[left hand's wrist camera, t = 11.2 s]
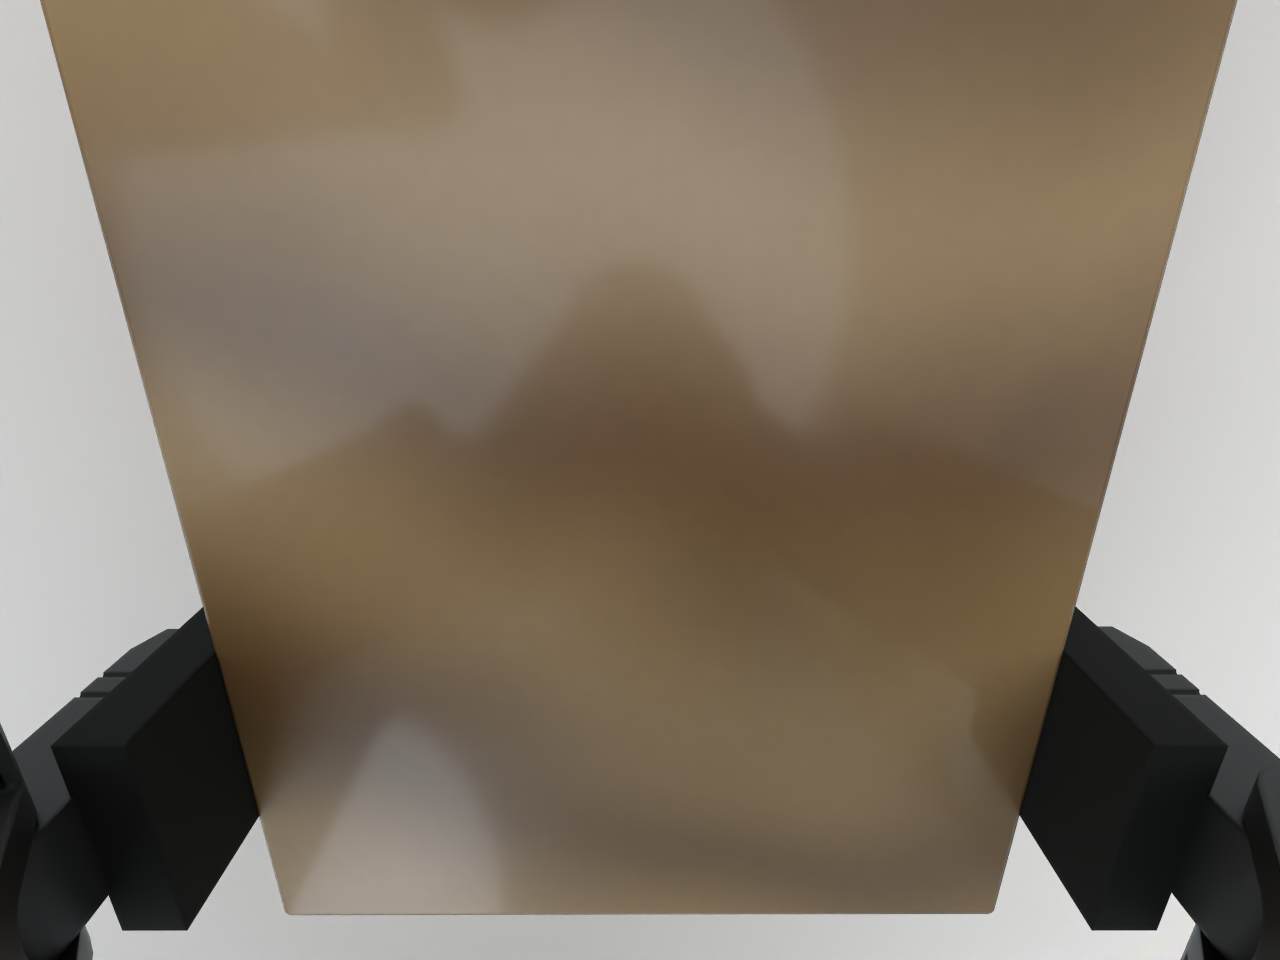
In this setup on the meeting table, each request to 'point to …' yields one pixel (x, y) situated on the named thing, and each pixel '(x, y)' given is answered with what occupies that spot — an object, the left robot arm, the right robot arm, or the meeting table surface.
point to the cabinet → (638, 417)
